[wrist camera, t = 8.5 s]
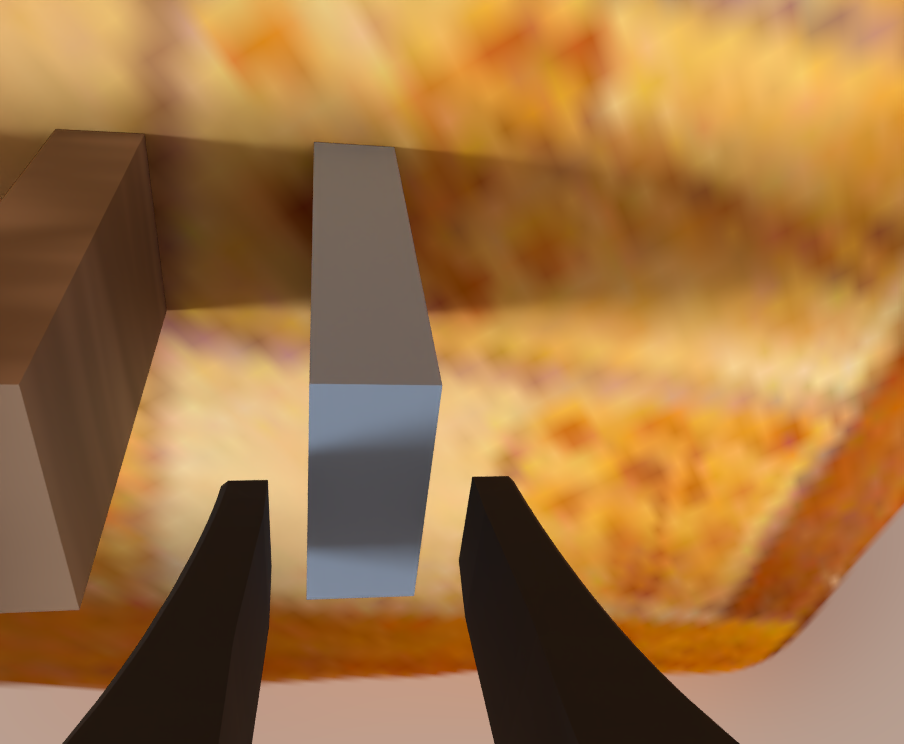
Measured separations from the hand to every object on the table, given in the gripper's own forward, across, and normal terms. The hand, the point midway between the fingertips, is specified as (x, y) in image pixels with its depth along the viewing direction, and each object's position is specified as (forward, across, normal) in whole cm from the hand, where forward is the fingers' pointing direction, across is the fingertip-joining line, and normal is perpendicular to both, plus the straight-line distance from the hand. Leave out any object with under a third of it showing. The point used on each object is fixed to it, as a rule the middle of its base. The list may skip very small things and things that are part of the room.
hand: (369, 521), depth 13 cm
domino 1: (+10, +6, 0) cm, 12 cm away
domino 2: (+10, 0, 0) cm, 10 cm away
